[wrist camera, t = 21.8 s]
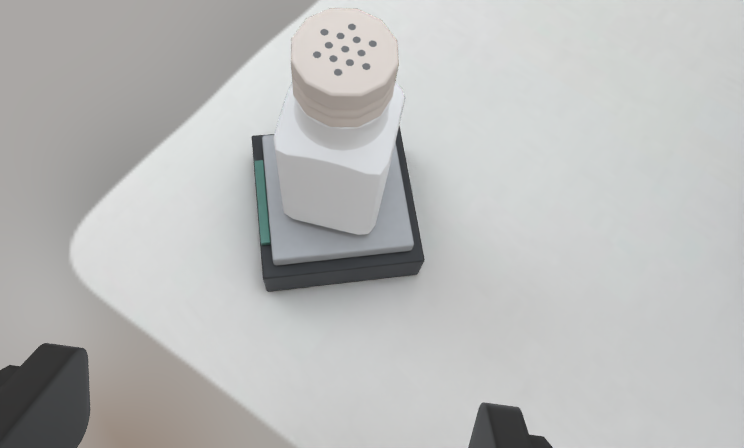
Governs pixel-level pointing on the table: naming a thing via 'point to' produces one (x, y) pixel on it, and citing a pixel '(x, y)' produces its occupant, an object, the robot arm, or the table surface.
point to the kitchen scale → (334, 232)
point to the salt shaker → (339, 120)
